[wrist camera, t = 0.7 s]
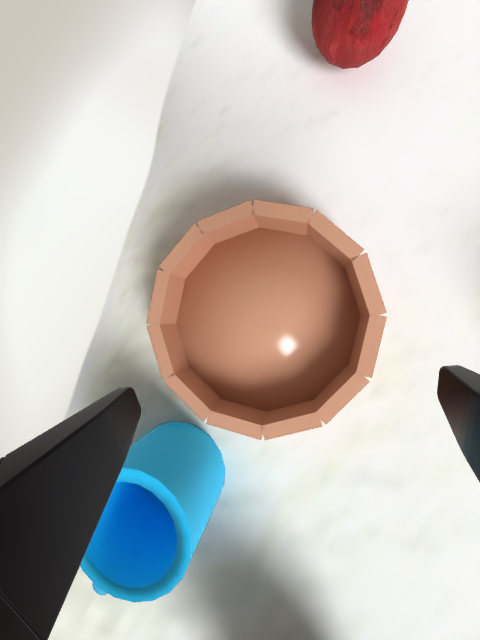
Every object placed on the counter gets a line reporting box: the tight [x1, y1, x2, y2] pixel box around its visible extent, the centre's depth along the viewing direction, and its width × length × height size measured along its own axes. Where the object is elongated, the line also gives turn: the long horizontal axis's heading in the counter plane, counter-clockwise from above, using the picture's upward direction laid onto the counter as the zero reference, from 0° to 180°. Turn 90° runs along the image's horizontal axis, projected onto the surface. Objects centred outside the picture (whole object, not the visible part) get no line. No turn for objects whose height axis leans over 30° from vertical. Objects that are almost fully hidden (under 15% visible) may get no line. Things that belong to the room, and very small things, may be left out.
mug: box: [80, 421, 225, 602], centre depth 23 cm, size 12×8×8 cm
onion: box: [312, 0, 408, 69], centre depth 19 cm, size 6×6×8 cm
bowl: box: [147, 200, 387, 440], centre depth 23 cm, size 16×16×4 cm
